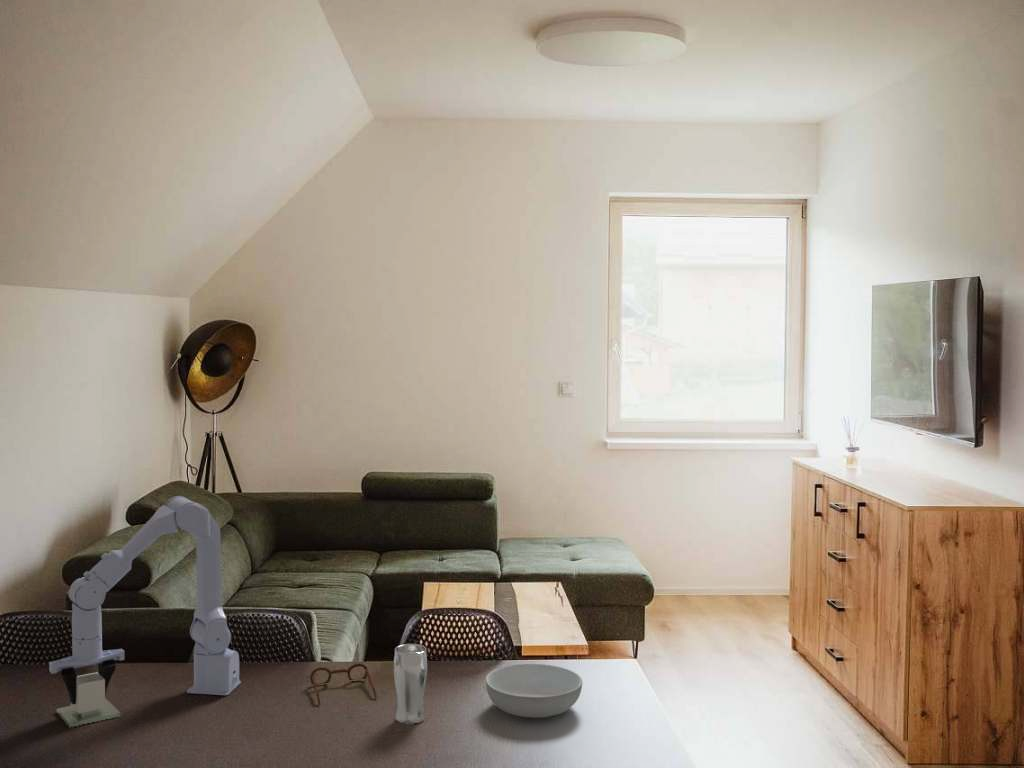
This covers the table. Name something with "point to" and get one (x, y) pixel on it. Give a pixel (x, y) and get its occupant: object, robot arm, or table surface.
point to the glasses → (339, 672)
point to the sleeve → (89, 692)
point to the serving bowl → (533, 689)
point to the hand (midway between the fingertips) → (88, 699)
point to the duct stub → (87, 714)
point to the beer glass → (410, 682)
